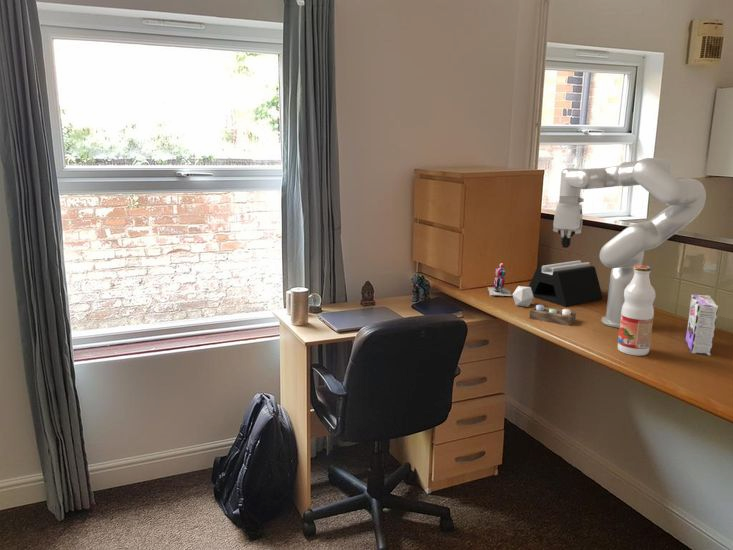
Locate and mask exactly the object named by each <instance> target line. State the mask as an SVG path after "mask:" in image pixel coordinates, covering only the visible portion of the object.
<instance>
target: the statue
mask: <svg viewBox="0 0 733 550" xmlns="http://www.w3.org/2000/svg"><path fill="white" fill-rule="evenodd" d="M495 276H496V277H495V278H494V283H493V284H494V287H493V286H492V287H490V286H487V291H488V293H489V297H493V298H494V297H495V296H496V297H501V298H504V297H505V296H506V297H510V298H513V295H512V294H513V293H512V292H511V290H510V289H509V287H508V288H505V283H506V279H505V277H506V269H504V263H502V262H501V263H499V268H498V267H496V268H495Z"/></svg>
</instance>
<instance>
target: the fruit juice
mask: <svg viewBox="0 0 733 550" xmlns="http://www.w3.org/2000/svg"><path fill="white" fill-rule="evenodd" d="M651 272H652V267H651V266H649V265H646V264H641V265H635V266H634V276H633V279H632V281H631V282H630V284H629V285H628V286H627V287H626V288H625V290H624V300H625V301H624V304H623V305H622V310H621V319H620V328H618V339H617V350H618V351H620V353H623V354H626V355H630V356H635V357H636V356H639V357H641V356H646V355H648V354H649V352H650V348H651V347H650V346H651V342H652V341H651V340H652V331H653V325H654V324H653V321H654V317H655V308H654V305H653V304H654V302H655V300H656V290H655V288H654V287H653V286H652V284H651V280H650V273H651Z"/></svg>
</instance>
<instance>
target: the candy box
mask: <svg viewBox="0 0 733 550" xmlns="http://www.w3.org/2000/svg"><path fill="white" fill-rule="evenodd" d="M688 311H689V312H688V319H687V329H686V334H685V343H686V344H687V346H688V349H689V351H690V353H691V354H695V355H696V354H697V355H703V356H704V355H705V356H711V355H712V348H713V342H714V337H715V331H716V330H715V329H716V325H717V317H718V313H719V312H718V311H719V306H718V305H717V304H716V302H715V301H714V299H713V298H712V297H711V295H708V294H707V295H706V294H695V293H694V294H693V293H692V294H691V297H690V305H689V310H688Z"/></svg>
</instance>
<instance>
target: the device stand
mask: <svg viewBox="0 0 733 550" xmlns="http://www.w3.org/2000/svg"><path fill="white" fill-rule="evenodd" d="M590 264H591V263H590V262H589V261H588V262H586V261H585V262H582V260H573V261H566V262H559V263H553V264H546V265H542V266H539V267H537V268H536V269H535V271H534V274H533V276H532V277H531V280H530V282H529V284H528V287H531V290H532V293H533V296H534V299H535V298H536V299H538V300H542V301H543V302H544V301H545V302H547V303H552V304H556V305H557V306H560V307H565V308H567V307H568V308H569V307H572V306H577V305H581V304H586V303H587V304H588V303H592V302H596V301H603V299H604V297H603V292H602V289H601V286H600V281H599V278H598V273H597V270H596V267H595V266H594V265H590Z"/></svg>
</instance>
